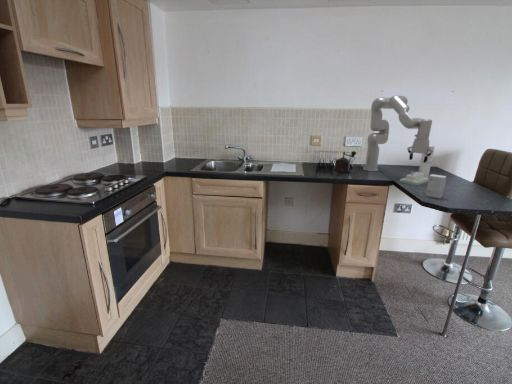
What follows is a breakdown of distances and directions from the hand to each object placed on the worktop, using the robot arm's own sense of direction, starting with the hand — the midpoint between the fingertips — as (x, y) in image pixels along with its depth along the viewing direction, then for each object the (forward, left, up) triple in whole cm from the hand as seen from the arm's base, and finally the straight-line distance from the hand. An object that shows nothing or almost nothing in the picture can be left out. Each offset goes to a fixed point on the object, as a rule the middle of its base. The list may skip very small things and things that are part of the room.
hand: (417, 160), depth 205 cm
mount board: (0, 0, -15) cm, 15 cm away
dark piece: (-51, -12, -16) cm, 54 cm away
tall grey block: (-1, +19, -16) cm, 25 cm away
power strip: (0, 0, -13) cm, 13 cm away
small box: (+23, -30, -16) cm, 41 cm away
